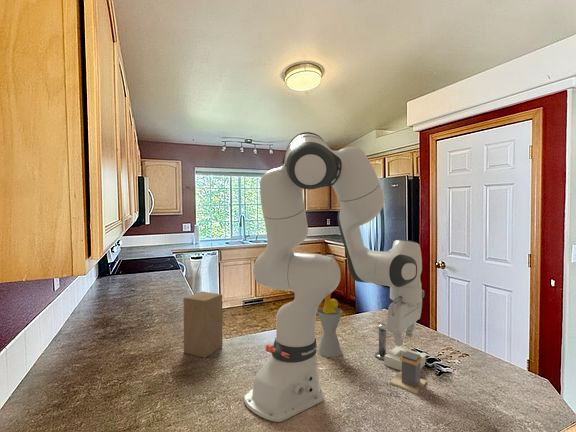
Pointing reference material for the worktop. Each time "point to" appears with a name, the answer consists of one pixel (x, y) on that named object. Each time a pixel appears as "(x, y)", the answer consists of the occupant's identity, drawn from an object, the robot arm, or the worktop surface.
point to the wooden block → (202, 324)
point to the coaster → (398, 382)
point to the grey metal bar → (382, 326)
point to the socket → (394, 358)
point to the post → (381, 345)
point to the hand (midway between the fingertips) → (404, 340)
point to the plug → (411, 368)
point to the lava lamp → (329, 327)
